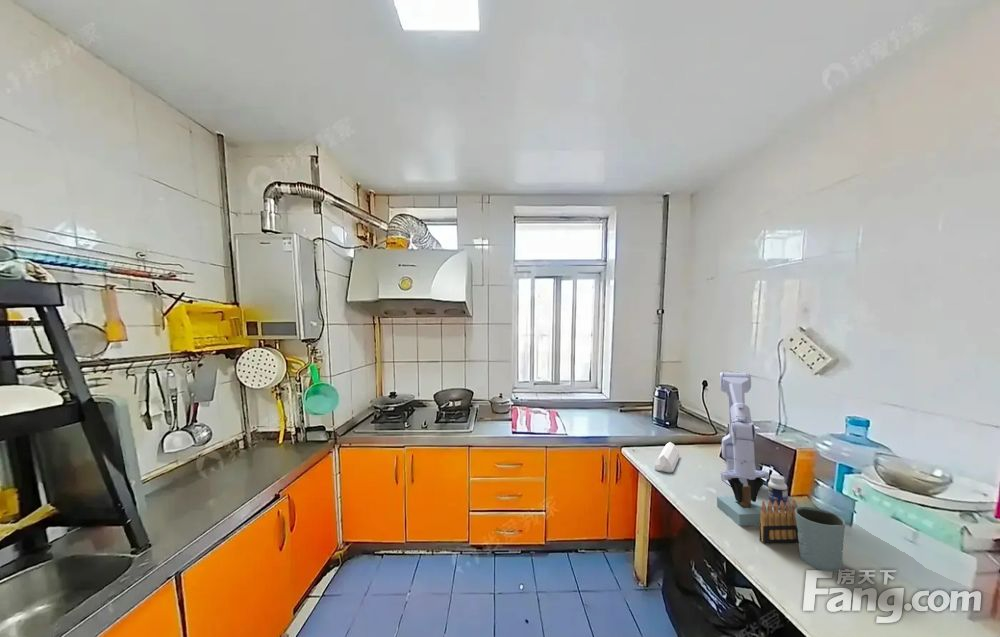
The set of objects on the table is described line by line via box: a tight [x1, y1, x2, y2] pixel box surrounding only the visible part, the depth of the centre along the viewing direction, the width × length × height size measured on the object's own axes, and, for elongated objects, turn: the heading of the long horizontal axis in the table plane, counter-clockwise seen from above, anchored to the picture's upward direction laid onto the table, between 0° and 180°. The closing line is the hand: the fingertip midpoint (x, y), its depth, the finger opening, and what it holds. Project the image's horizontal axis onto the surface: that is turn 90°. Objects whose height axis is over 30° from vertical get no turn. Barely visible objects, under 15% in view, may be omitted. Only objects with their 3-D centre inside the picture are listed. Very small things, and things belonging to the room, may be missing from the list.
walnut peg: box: [740, 484, 751, 508], centre depth 124 cm, size 3×3×10 cm
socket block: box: [716, 495, 773, 527], centre depth 124 cm, size 12×12×4 cm
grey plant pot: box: [795, 506, 846, 572], centre depth 100 cm, size 10×10×12 cm
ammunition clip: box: [759, 499, 799, 545], centre depth 109 cm, size 11×2×12 cm, turn 89°
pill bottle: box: [767, 473, 789, 509], centre depth 130 cm, size 5×5×10 cm
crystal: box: [654, 441, 680, 473], centre depth 170 cm, size 7×7×24 cm
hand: (745, 500), depth 124 cm, fingers open, 4 cm apart
